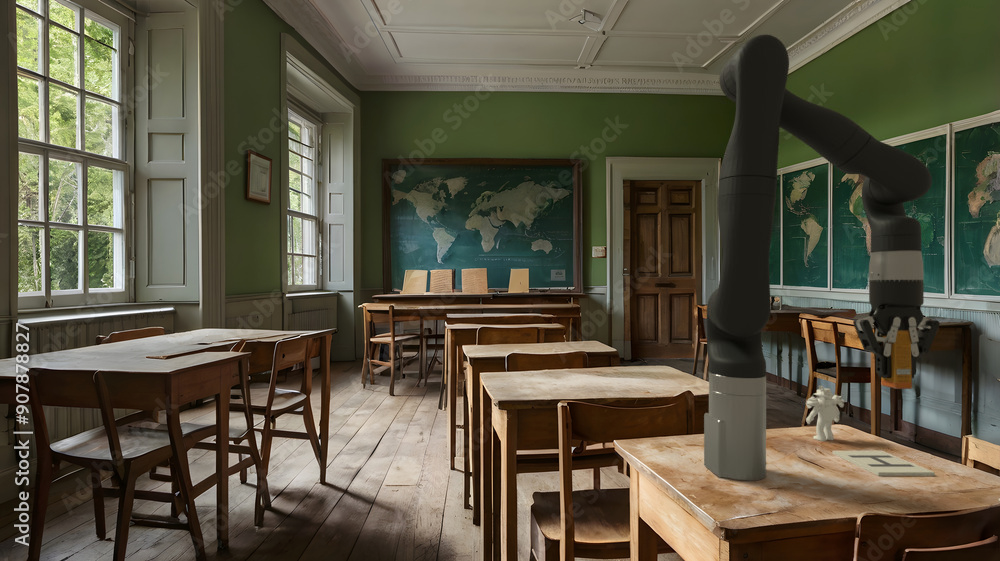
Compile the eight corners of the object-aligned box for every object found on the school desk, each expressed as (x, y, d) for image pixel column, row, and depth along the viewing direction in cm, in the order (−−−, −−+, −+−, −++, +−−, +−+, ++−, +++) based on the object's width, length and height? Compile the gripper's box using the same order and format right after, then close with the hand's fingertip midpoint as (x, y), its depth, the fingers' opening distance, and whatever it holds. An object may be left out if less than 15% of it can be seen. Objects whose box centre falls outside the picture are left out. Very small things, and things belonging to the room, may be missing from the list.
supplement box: (914, 388, 88) (912, 330, 88) (895, 389, 88) (893, 330, 88) (898, 385, 92) (896, 328, 92) (879, 385, 91) (878, 328, 92)
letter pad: (878, 475, 90) (878, 472, 90) (832, 453, 102) (832, 450, 102) (934, 475, 90) (934, 472, 90) (882, 453, 102) (882, 450, 102)
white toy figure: (815, 443, 109) (815, 386, 109) (800, 438, 113) (800, 382, 113) (848, 440, 112) (848, 384, 112) (832, 435, 115) (832, 381, 116)
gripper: (870, 277, 86) (871, 381, 86) (955, 278, 86) (955, 381, 86) (840, 278, 94) (841, 373, 94) (918, 278, 94) (919, 374, 94)
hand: (896, 377), depth 90 cm, fingers closed on supplement box, 3 cm apart
